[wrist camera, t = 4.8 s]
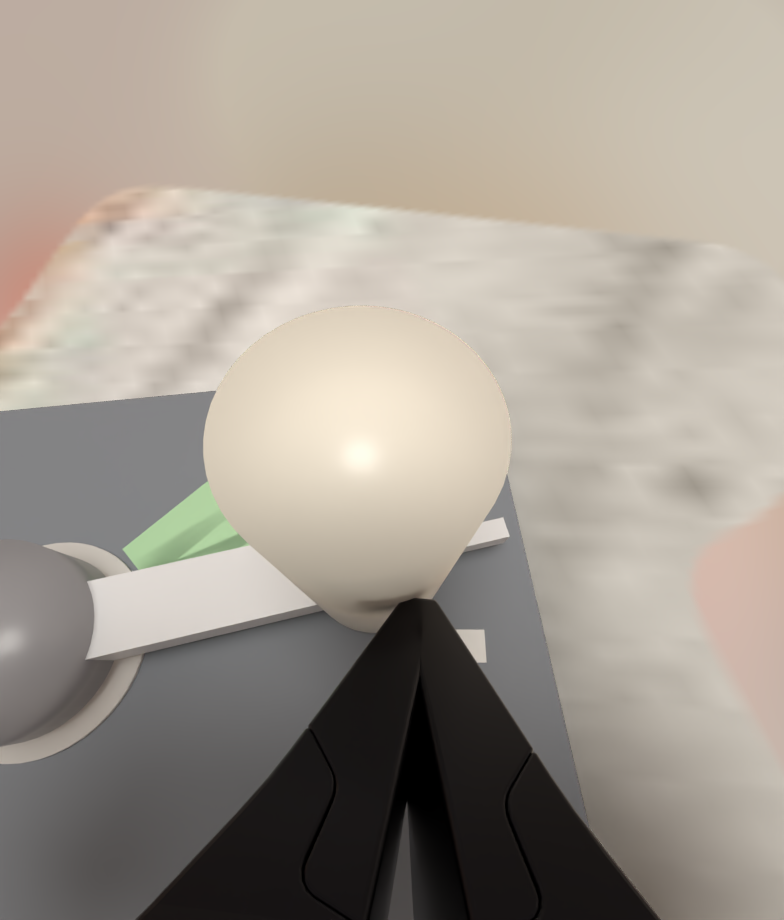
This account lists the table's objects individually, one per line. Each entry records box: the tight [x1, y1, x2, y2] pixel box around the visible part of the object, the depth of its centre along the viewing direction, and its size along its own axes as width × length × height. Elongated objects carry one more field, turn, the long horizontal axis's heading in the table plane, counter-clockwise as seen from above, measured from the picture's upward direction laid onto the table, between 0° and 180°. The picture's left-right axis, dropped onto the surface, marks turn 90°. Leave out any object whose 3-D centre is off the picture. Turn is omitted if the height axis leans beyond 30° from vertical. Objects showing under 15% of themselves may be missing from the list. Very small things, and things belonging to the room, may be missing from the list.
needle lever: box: [0, 306, 511, 747], centre depth 10 cm, size 16×5×9 cm, turn 103°
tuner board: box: [0, 391, 589, 920], centre depth 13 cm, size 23×18×1 cm
